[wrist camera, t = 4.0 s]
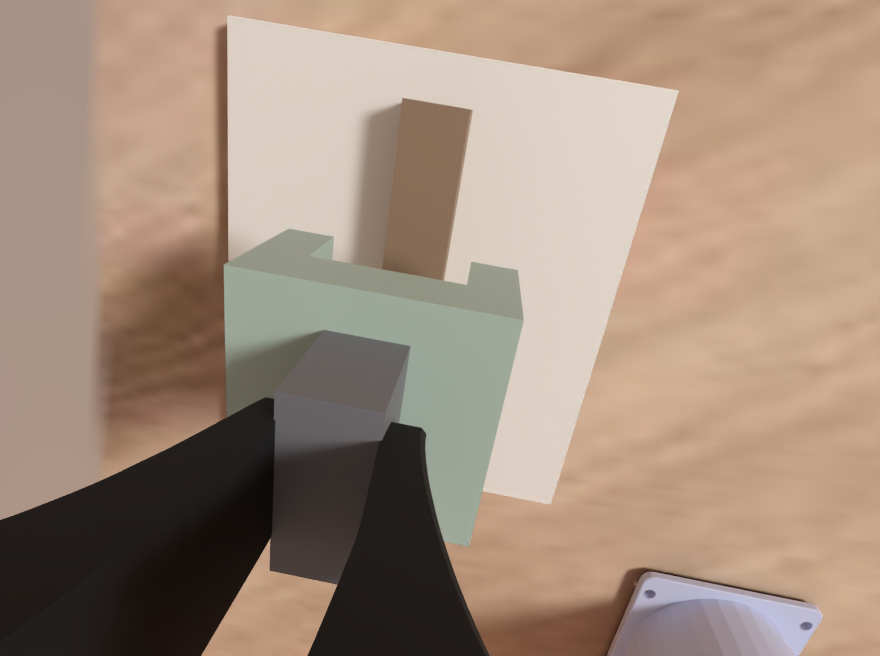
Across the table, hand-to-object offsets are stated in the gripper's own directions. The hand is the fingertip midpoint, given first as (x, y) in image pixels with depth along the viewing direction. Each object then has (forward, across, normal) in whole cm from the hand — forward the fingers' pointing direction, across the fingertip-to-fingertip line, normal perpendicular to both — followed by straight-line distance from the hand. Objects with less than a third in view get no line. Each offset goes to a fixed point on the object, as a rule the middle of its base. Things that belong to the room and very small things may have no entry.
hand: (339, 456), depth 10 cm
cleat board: (+10, 0, 0) cm, 10 cm away
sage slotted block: (+5, 0, 0) cm, 5 cm away
